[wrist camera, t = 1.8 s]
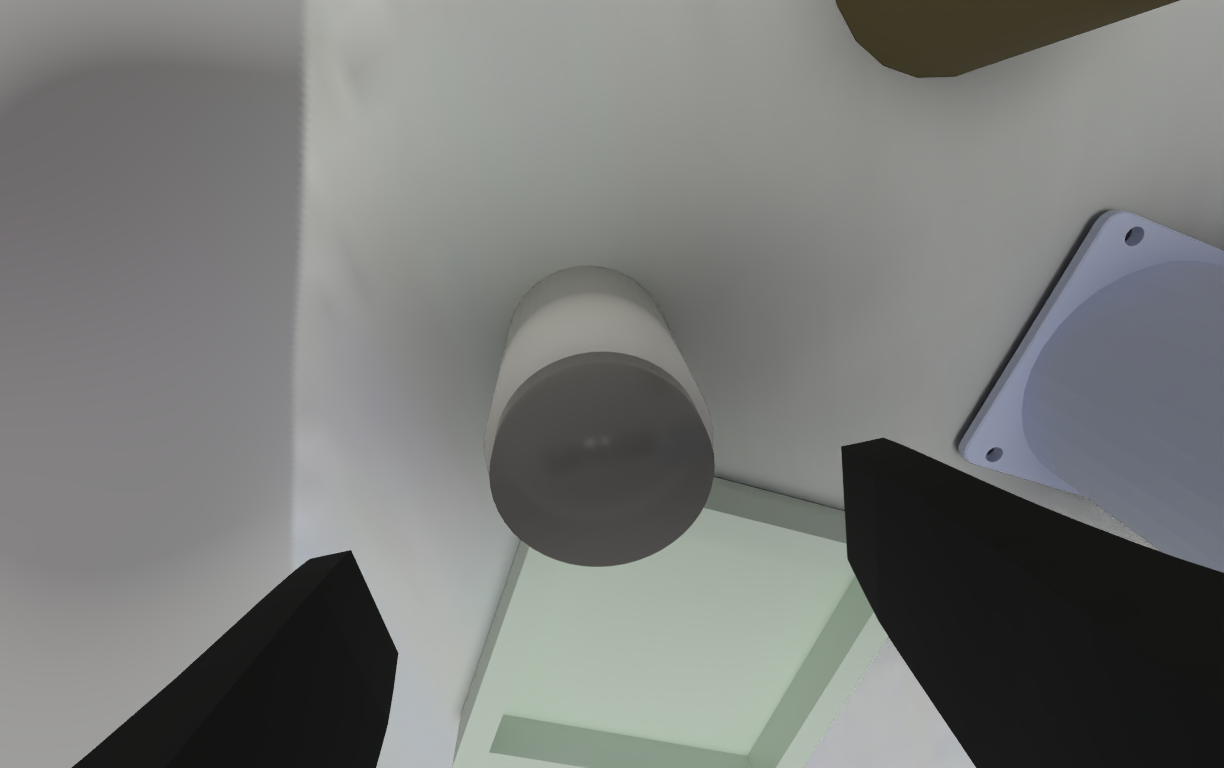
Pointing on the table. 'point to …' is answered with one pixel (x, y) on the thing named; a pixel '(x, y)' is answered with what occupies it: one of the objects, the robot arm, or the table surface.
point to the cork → (973, 29)
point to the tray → (677, 648)
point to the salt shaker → (596, 424)
